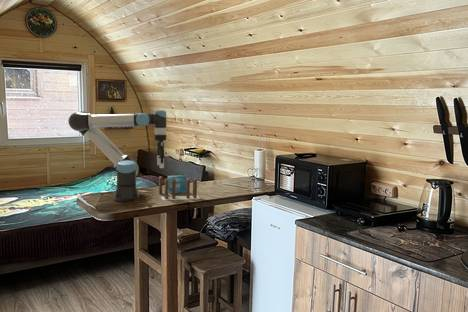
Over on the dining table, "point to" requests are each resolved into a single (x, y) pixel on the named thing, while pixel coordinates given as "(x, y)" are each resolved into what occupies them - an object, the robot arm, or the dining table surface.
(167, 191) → the domino
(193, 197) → the domino
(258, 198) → the dining table surface
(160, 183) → the domino
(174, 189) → the domino
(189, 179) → the domino
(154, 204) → the dining table surface
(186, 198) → the board
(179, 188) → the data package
